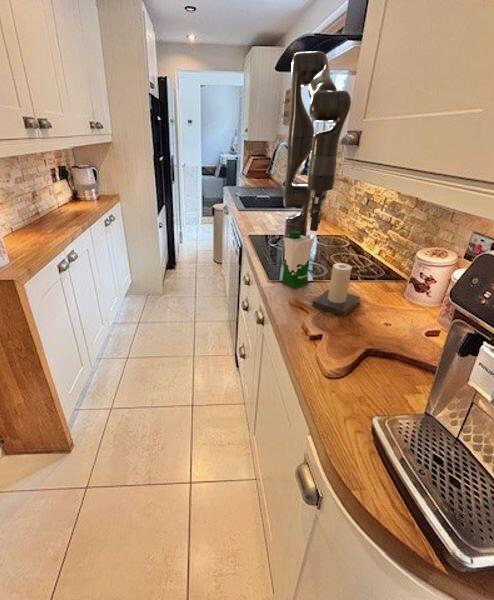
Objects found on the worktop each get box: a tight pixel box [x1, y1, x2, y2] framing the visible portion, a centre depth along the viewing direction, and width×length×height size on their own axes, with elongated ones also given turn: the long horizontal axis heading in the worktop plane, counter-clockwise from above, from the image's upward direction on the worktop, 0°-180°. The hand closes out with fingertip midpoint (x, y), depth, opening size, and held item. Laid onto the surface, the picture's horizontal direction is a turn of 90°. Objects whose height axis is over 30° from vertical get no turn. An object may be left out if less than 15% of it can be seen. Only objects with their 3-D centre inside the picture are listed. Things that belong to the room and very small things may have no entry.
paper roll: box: [328, 262, 353, 303], centre depth 108 cm, size 6×6×12 cm
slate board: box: [311, 288, 361, 318], centre depth 111 cm, size 13×11×2 cm
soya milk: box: [281, 230, 315, 289], centre depth 122 cm, size 9×9×20 cm
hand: (315, 226), depth 102 cm, fingers open, 8 cm apart
